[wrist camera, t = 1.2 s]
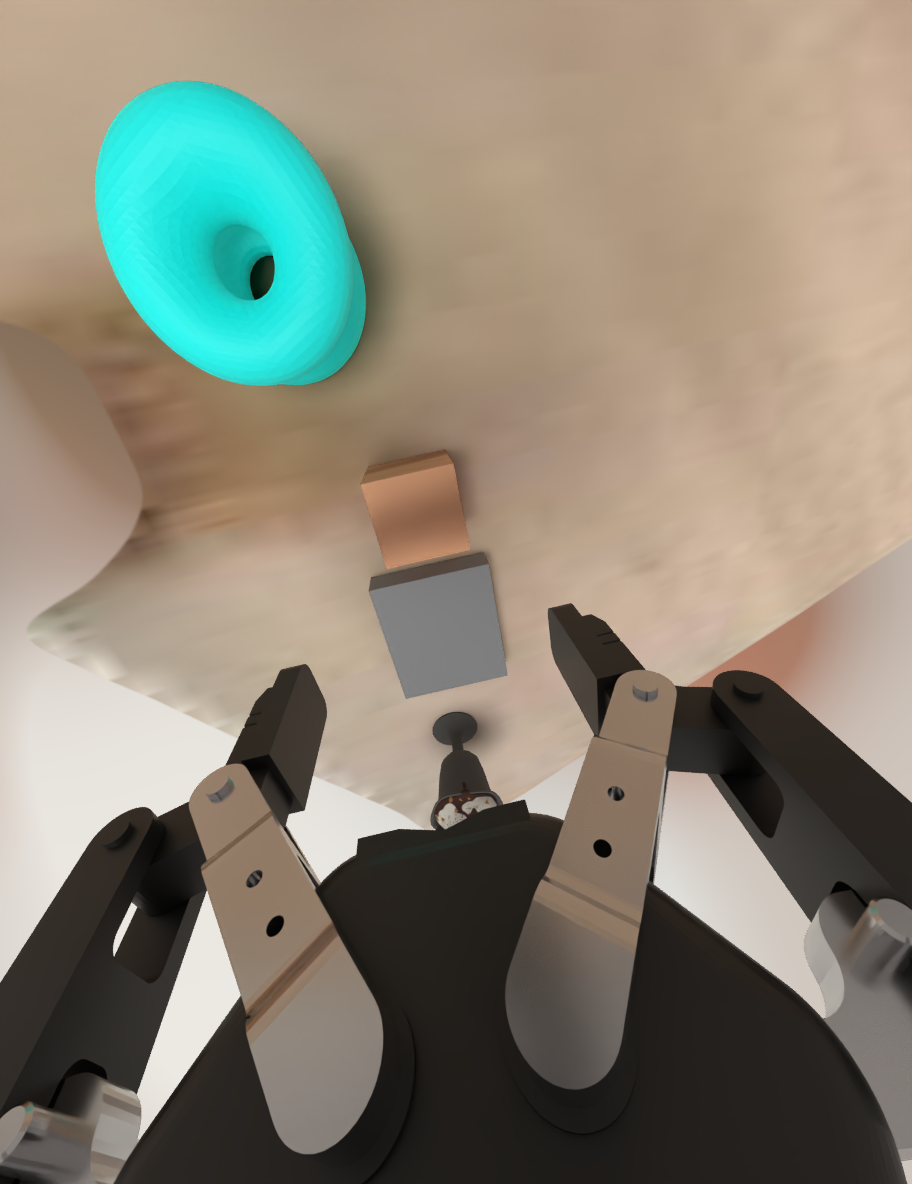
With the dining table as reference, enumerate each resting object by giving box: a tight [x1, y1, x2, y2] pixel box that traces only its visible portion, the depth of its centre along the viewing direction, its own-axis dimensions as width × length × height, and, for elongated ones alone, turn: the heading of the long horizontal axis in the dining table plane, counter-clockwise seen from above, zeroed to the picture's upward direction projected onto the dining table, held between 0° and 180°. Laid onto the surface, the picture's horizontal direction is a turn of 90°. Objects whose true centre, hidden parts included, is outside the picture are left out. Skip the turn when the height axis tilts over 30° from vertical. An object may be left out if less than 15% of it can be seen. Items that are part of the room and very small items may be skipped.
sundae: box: [431, 712, 503, 830], centre depth 37 cm, size 7×7×15 cm
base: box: [369, 552, 507, 699], centre depth 36 cm, size 12×10×3 cm
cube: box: [360, 450, 470, 569], centre depth 29 cm, size 6×6×6 cm
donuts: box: [95, 81, 366, 386], centre depth 20 cm, size 10×10×10 cm
